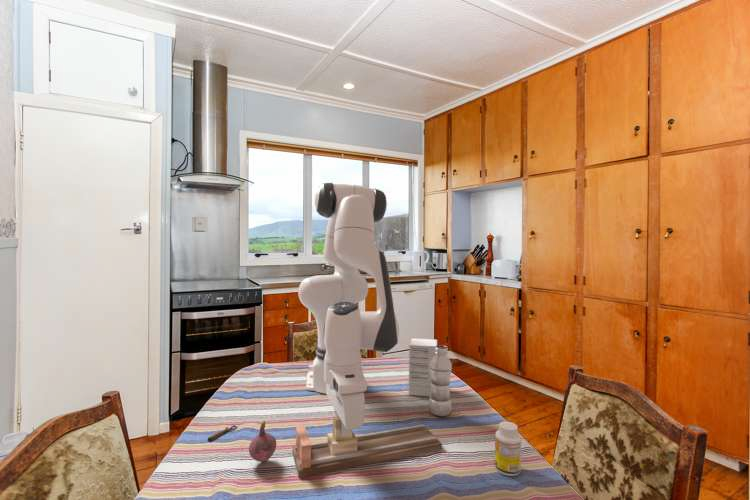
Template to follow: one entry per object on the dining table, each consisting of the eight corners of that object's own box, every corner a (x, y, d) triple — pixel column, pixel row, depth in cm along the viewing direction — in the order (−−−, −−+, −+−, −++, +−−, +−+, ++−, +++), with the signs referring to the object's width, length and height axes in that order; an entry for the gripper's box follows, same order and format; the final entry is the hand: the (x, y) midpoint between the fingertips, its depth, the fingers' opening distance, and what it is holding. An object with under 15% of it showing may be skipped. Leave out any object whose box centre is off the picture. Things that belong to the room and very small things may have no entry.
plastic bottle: (451, 420, 110) (452, 351, 109) (427, 417, 111) (428, 349, 111) (451, 410, 116) (452, 345, 115) (429, 408, 118) (430, 343, 117)
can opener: (210, 442, 97) (210, 438, 97) (204, 440, 98) (204, 435, 98) (240, 428, 104) (240, 424, 104) (235, 426, 106) (235, 421, 106)
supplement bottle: (500, 459, 91) (501, 417, 90) (524, 469, 87) (525, 424, 87) (490, 470, 86) (491, 425, 86) (515, 480, 83) (516, 434, 82)
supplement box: (436, 397, 125) (437, 346, 125) (408, 395, 127) (408, 345, 126) (436, 386, 135) (437, 339, 134) (410, 384, 136) (411, 337, 136)
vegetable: (250, 473, 84) (250, 429, 84) (247, 458, 90) (247, 416, 89) (278, 467, 86) (278, 424, 86) (274, 453, 92) (274, 412, 92)
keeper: (327, 445, 93) (327, 413, 92) (351, 441, 95) (351, 409, 94) (332, 457, 88) (332, 422, 88) (357, 452, 90) (357, 418, 90)
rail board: (292, 452, 92) (292, 426, 92) (423, 430, 104) (423, 406, 104) (298, 477, 83) (298, 448, 83) (441, 449, 95) (442, 423, 94)
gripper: (320, 360, 99) (319, 412, 100) (341, 390, 80) (340, 455, 80) (343, 357, 101) (343, 409, 102) (369, 386, 82) (368, 449, 83)
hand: (342, 430), depth 91 cm, fingers closed on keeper, 3 cm apart
